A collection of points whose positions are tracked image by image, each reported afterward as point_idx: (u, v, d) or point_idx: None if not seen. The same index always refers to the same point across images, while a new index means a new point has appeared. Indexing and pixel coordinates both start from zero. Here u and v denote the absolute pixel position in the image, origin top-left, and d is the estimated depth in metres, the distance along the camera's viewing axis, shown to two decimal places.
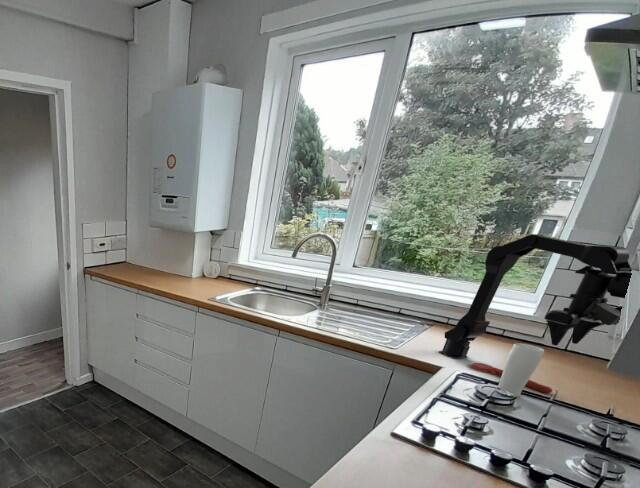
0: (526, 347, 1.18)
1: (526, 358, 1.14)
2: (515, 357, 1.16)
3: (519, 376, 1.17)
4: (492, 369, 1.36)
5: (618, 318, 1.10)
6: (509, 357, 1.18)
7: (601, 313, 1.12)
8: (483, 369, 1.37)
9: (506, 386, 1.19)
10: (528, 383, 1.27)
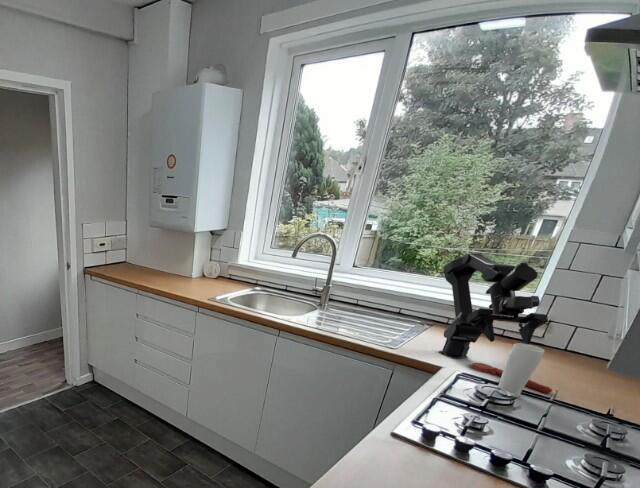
0: (526, 347, 1.18)
1: (526, 358, 1.14)
2: (515, 357, 1.16)
3: (519, 376, 1.17)
4: (492, 369, 1.36)
5: (522, 298, 1.20)
6: (509, 357, 1.18)
7: (508, 302, 1.23)
8: (483, 369, 1.37)
9: (506, 386, 1.19)
10: (528, 383, 1.27)
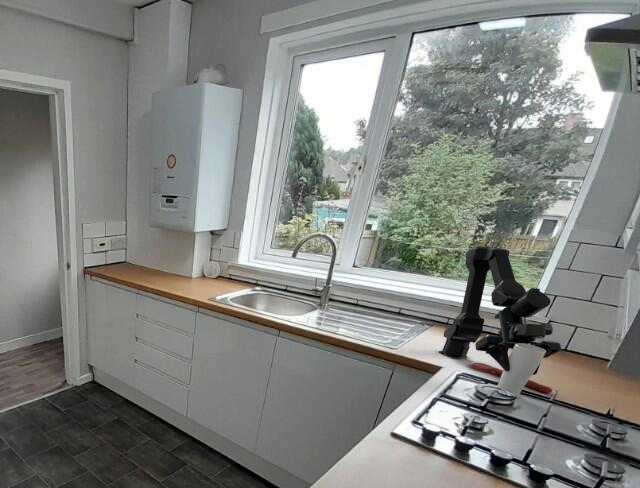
0: (527, 347, 1.18)
1: (527, 358, 1.14)
2: (516, 357, 1.16)
3: (519, 376, 1.16)
4: (492, 369, 1.36)
5: (534, 326, 1.14)
6: (510, 357, 1.18)
7: (519, 329, 1.17)
8: (483, 369, 1.37)
9: (506, 386, 1.19)
10: (528, 383, 1.27)
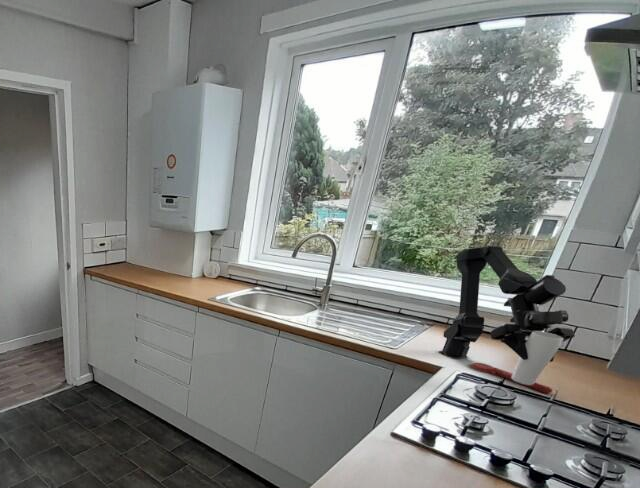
0: (543, 334, 1.18)
1: (546, 346, 1.13)
2: (534, 345, 1.15)
3: (537, 364, 1.16)
4: (492, 369, 1.36)
5: (552, 314, 1.13)
6: (527, 345, 1.17)
7: (536, 317, 1.16)
8: (483, 369, 1.37)
9: (523, 374, 1.19)
10: None
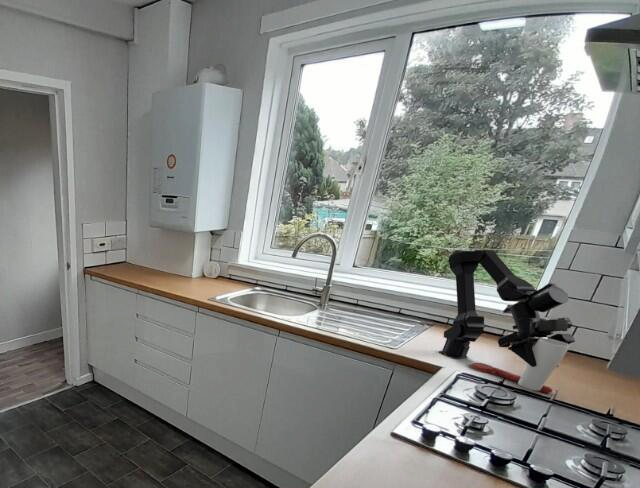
0: (547, 341, 1.21)
1: (555, 353, 1.16)
2: (543, 353, 1.18)
3: (545, 371, 1.19)
4: (492, 369, 1.36)
5: (558, 322, 1.16)
6: (535, 352, 1.19)
7: (542, 324, 1.19)
8: (483, 369, 1.37)
9: (531, 381, 1.21)
10: None
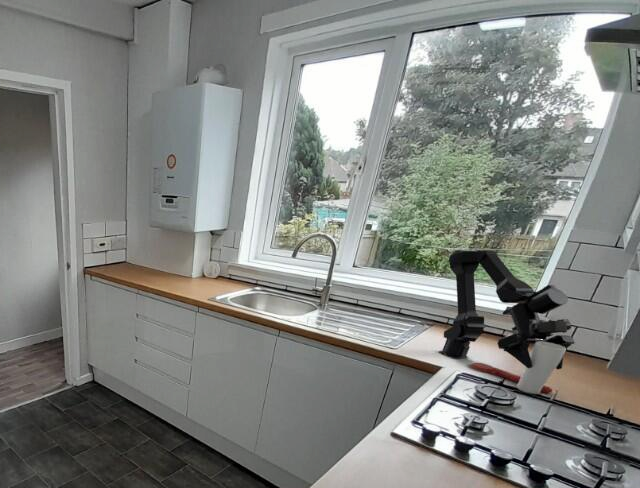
0: (544, 344, 1.21)
1: (552, 357, 1.16)
2: (540, 356, 1.18)
3: (543, 374, 1.19)
4: (492, 369, 1.36)
5: (558, 323, 1.16)
6: (532, 356, 1.20)
7: (541, 326, 1.19)
8: (483, 369, 1.37)
9: (530, 384, 1.22)
10: None
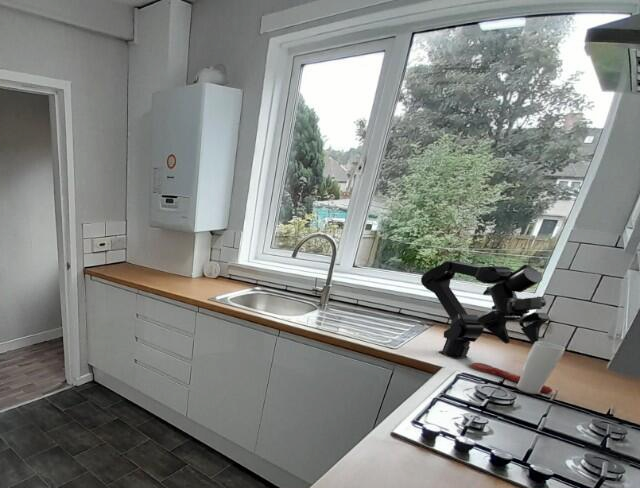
0: (543, 344, 1.21)
1: (551, 356, 1.17)
2: (539, 356, 1.18)
3: (543, 374, 1.19)
4: (492, 369, 1.36)
5: (533, 300, 1.23)
6: (532, 356, 1.20)
7: (518, 303, 1.26)
8: (483, 369, 1.37)
9: (529, 384, 1.22)
10: None
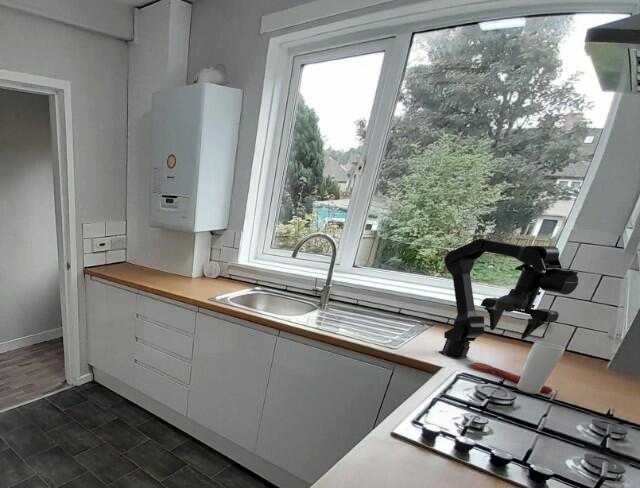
0: (543, 344, 1.21)
1: (551, 356, 1.17)
2: (539, 356, 1.18)
3: (543, 374, 1.19)
4: (492, 369, 1.36)
5: (499, 303, 1.28)
6: (532, 356, 1.20)
7: None
8: (483, 369, 1.37)
9: (529, 384, 1.22)
10: None
